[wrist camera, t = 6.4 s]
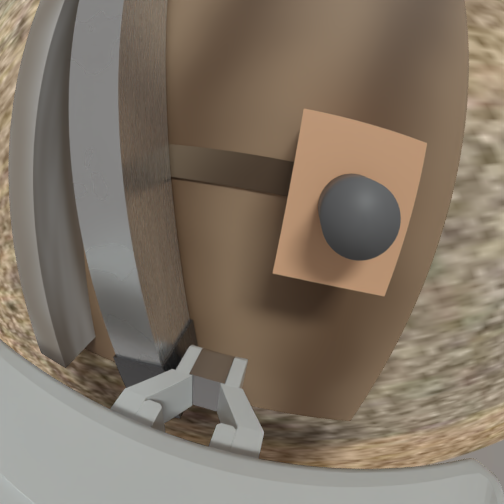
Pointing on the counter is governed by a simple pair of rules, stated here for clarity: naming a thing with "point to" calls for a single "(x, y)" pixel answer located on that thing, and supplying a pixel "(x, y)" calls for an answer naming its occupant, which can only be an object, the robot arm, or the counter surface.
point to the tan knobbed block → (348, 203)
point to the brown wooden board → (250, 180)
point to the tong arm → (127, 183)
